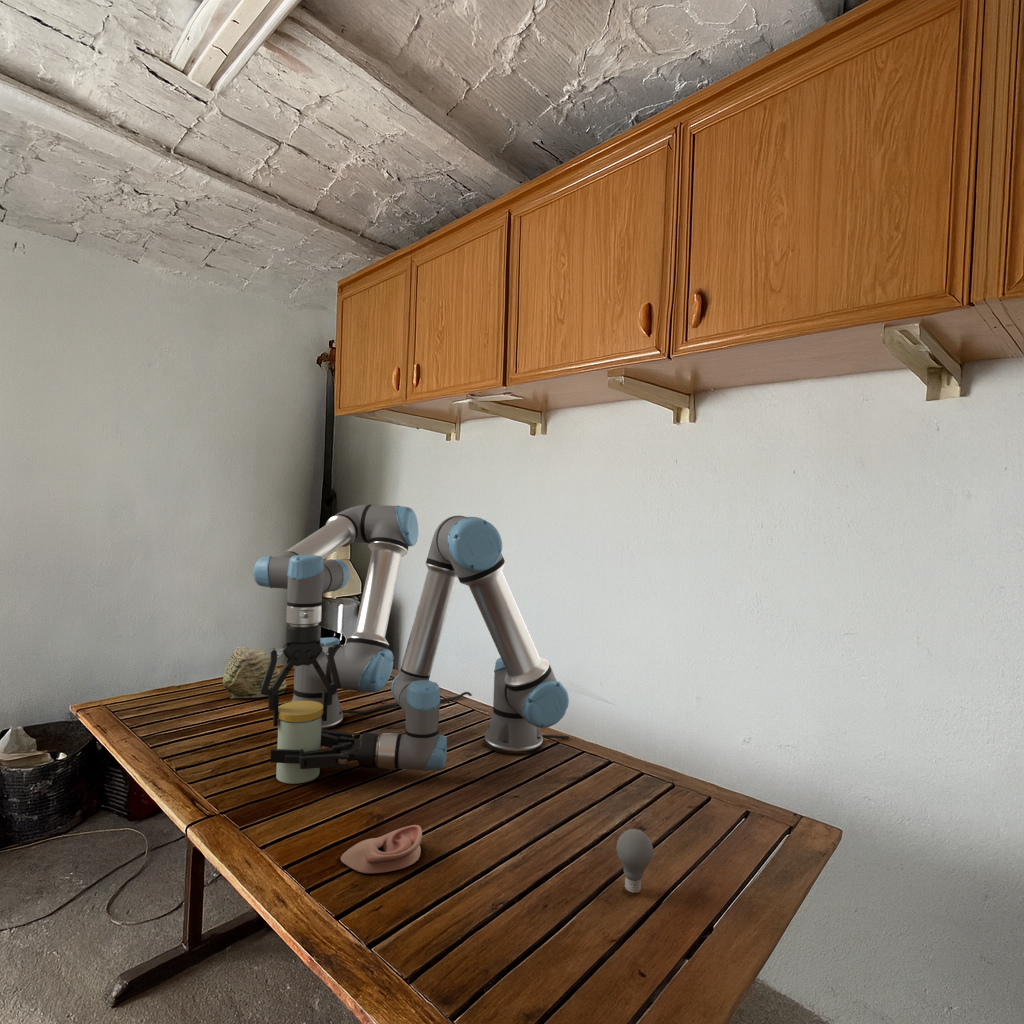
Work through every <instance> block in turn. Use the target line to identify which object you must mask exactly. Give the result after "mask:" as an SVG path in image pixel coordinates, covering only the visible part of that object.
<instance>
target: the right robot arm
mask: <svg viewBox="0 0 1024 1024" xmlns="http://www.w3.org/2000/svg"><path fill="white" fill-rule="evenodd" d="M502 551H503V541H502V537H501V535H500V532H499V530H498V529H497V528H496V526H494V525H493V524H492V523H491V522H489V521H488V520H486V519H483V518H481V517H478V516H465V515H453V516H449V517H447V518H446V519H444V520H443V521H441V523H440V524H438V526H437V527H436V529H435V531H434V533H433V535H432V538H431V543H430V546H429V550H428V553H427V556H426V561H425V566H426V567H427V572H426V576H425V580H424V583H423V587H422V590H421V593H420V598H419V601H418V605H417V608H416V612H415V616H414V618H413V622H412V626H411V630H410V634H409V637H408V641H407V645H406V648H405V651H404V655H403V659H402V663H401V666H400V669H399V672H398V673H397V675H396V676H395V677H394V678H393V680H392V682H391V685H390V690H391V694H392V697H393V699H394V700H395V702H396V704H397V703H398V704H399V705H400V706H399V707H400V708H401V710H402V711H403V712H404V714H405V729H404V733H399V732H398V733H397V732H396V733H393V732H382V733H380V734H379V733H378V732H363V733H362V735H361V733H360V732H348V731H347V732H346V731H339V730H332V729H329V730H325V729H323V730H321V747H322V746H323V747H326V748H322V749H321V748H320V750H314V751H308V752H304V751H303V749H301V750H287V749H277V748H272V749H270V763H273V764H277V763H295V764H300V769H311V768H320V769H325V768H326V769H327V768H348V763H349V762H352V761H357V762H358V767H359V768H362V769H375V768H378V769H388V771H392V770H414V771H415V770H416V771H424V772H425V771H441V770H443V769H444V768H445V767H446V762H447V754H448V753H447V752H448V738H447V736H446V735H442V734H440V732H439V725H440V724H439V723H440V722H439V721H440V707H441V706H440V705H441V702H440V699H441V692H440V691H441V687H440V685H439V684H438V683H437V682H435V681H432V680H430V677H431V674H432V670H433V667H434V662H435V659H436V655H437V652H438V649H439V644H440V641H441V637H442V635H443V631H444V627H445V624H446V620H447V616H448V614H449V609H450V607H451V602H452V598H453V594H454V591H455V587H456V584H457V581H459V583H460V584H462V585H465V586H467V587H469V590H470V593H471V595H472V596H473V599H474V601H475V603H476V605H477V608H478V610H479V612H480V615H481V617H482V619H483V621H484V623H485V627H486V628H487V630H488V632H489V634H490V636H491V638H492V641H493V643H494V646H495V648H496V651H497V652H498V655H499V658H497V659H496V661H495V664H494V670H493V672H494V676H493V701H492V702H493V703H492V704H493V705H492V707H493V708H492V715H491V718H490V720H489V723H488V725H487V729H486V731H485V734H484V744H485V746H486V747H487V748H488V749H490V750H491V751H494V752H496V753H500V754H505V755H514V756H516V755H528V754H533V753H535V752H538V751H539V750H541V749H542V747H543V740H544V739H561V740H569V738H570V737H569V735H559V734H558V735H557V734H543V733H542V730H541V729H547V728H550V727H552V726H554V725H556V724H558V723H559V722H560V721H561V720H562V719H563V718H564V716H565V715H566V713H567V710H568V708H569V704H570V696H569V692H568V690H567V688H566V687H565V685H564V684H563V683H562V682H561V681H559V680H557V678H556V676H555V674H554V671H553V669H552V666H551V664H550V662H549V660H548V659H546V658H544V657H541V656H539V652H538V650H537V647H536V645H535V643H534V640H533V639H532V636H531V634H530V632H529V629H528V626H527V624H526V623H525V620H524V618H523V616H522V613H521V611H520V609H519V607H518V604H517V602H516V599H515V597H514V595H513V593H512V592H513V591H512V590H511V587H510V585H509V584H508V581H507V579H506V577H505V574H504V572H503V570H504V568H505V565H506V561H505V557H504V556H503V553H502ZM486 724H487V720H485V721H484V726H486Z"/></svg>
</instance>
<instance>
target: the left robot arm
mask: <svg viewBox="0 0 1024 1024" xmlns="http://www.w3.org/2000/svg"><path fill="white" fill-rule="evenodd" d="M418 539H419V522H418V518H417V514H416V513H415V511H414V510H413V508H411V507H409V506H402V505H383V504H366V503H365V504H359V505H355V506H352V507H348V508H347V509H344V510H341V511H340V512H338V513H336V514H334V515H333V516H331V517H330V518H328V519H327V520H326V523H325V525H323V526H322V527H321V528H319V529H317V530H316V531H314V532H313V533H311V534H309V535H308V536H307V537H305V538H304V539H302V540H301V541H299V542H297V543H296V544H294V545H292V546H291V547H290V548H288V549H287V550H285V551H283V552H282V553H280V554H279V555H277V556H272V555H269V556H262V557H260V558H258V559H257V561H256V562H255V564H254V567H253V579H254V582H255V583H256V584H257V585H258V586H260V587H262V588H263V587H264V588H270V589H283V590H287V598H286V599H287V601H286V617H285V622H286V623H287V625H286V626H285V642H284V646H282V648H281V647H280V648H275V647H272V648H270V650H269V658H270V661H269V664H268V667H267V670H266V673H265V676H264V679H263V682H262V685H261V688H260V690H261V694H262V695H268V696H267V697H268V705H267V706H268V707H267V708H268V710H269V711H270V712H271V711H272V713H273V714H272V724H273V727H278V707H279V699H280V697H279V694H278V693H277V691H278V690H279V688H280V686H281V685H282V683H283V681H284V680H286V678H287V677H288V675H289V673H290V672H291V670H292V669H293V668H294V672H293V695H292V696H293V697H292V699H291V702H293V701H315V702H319V703H321V704H322V705H323V709H324V713H323V715H322V720H321V730H323V729H325V730H332V729H335V728H337V727H339V726H340V725H342V723H343V722H344V714H356V715H364V714H369V713H372V712H375V711H378V710H381V709H382V710H383V709H386V708H392V707H394V708H395V707H401V706H400V705H399V704H398V703H397V702H396V703H390V704H384V705H379V706H376V707H372V708H369V709H367V710H366V709H365V710H352V709H342V706H341V702H340V699H339V695H338V690H344V691H345V690H347V691H354V692H360V693H378V692H380V691H381V690H382V689H383V688H384V687H385V686H386V685H387V684H388V682H389V680H390V677H391V675H392V672H393V668H394V654H393V651H392V650H390V649H389V648H390V644H389V642H388V640H387V639H386V634H387V629H388V625H389V621H390V620H389V619H390V615H391V610H392V605H393V601H394V596H395V595H394V594H395V590H396V585H397V582H398V576H399V570H400V566H401V561H402V558H403V557H404V556H406V555H408V552H409V548H410V547H413V546H416V544H417V542H418ZM356 543H357V544H358V543H361V544H367V547H368V548H369V550H370V551H371V555H370V558H369V564H368V569H367V573H366V578H365V581H364V587H363V592H362V596H361V599H360V604H359V608H358V609H359V610H358V614H357V619H356V623H355V628H354V632H353V633H352V634H350V635H349V636H347V638H346V641H345V645H344V644H343V645H342V644H340V643H341V641H340V639H339V638H338V637H334V636H333V637H322V625H321V624H320V623H321V622H322V603H323V594H327V593H331V592H336V591H339V590H340V589H343V588H345V586H347V584H348V583H349V581H350V577H351V573H350V569H349V567H348V565H347V564H346V563H345V562H344V561H343V560H340V559H332V558H331V559H327V558H328V557H329V556H331V555H332V554H334V553H335V552H337V551H338V550H339V549H340V548H344V547H345V548H346V547H348V546H350V545H352V544H356ZM326 559H327V560H326ZM283 654H284V655H285V657H286V659H287V660H286V661H285V663H284V664H283V667H282V668H281V669H280V673H279V675H278V676H277V678H276V680H275V681H274V683H273V685H272V686H271V688H268V687H269V684H270V681H271V678H272V675H273V672H274V669H275V666H276V667H277V663H278V660H279V659H280V658H281V657H282V655H283ZM466 695H467V696H469V697H472V696H473V694H472V693H471V692H469V691H463V692H462V693H460V694H458V695H456V696H455V695H454V696H450V697H445V698H440V703H443V702H448V701H453V700H457V699H458V700H459V699H460V698H462V697H464V696H466Z"/></svg>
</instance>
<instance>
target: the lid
mask: <svg viewBox="0 0 1024 1024" xmlns="http://www.w3.org/2000/svg"><path fill="white" fill-rule="evenodd" d="M323 713H324V709H323V705H322V704H321V703H319V702H315V701H293V702H292V701H289V702H284V703H283V704H280V705H278V718H279V719H280V720H283V721H289V722H303V721H310V720H314V719H317V718H319V717H321V716H322V715H323Z"/></svg>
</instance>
